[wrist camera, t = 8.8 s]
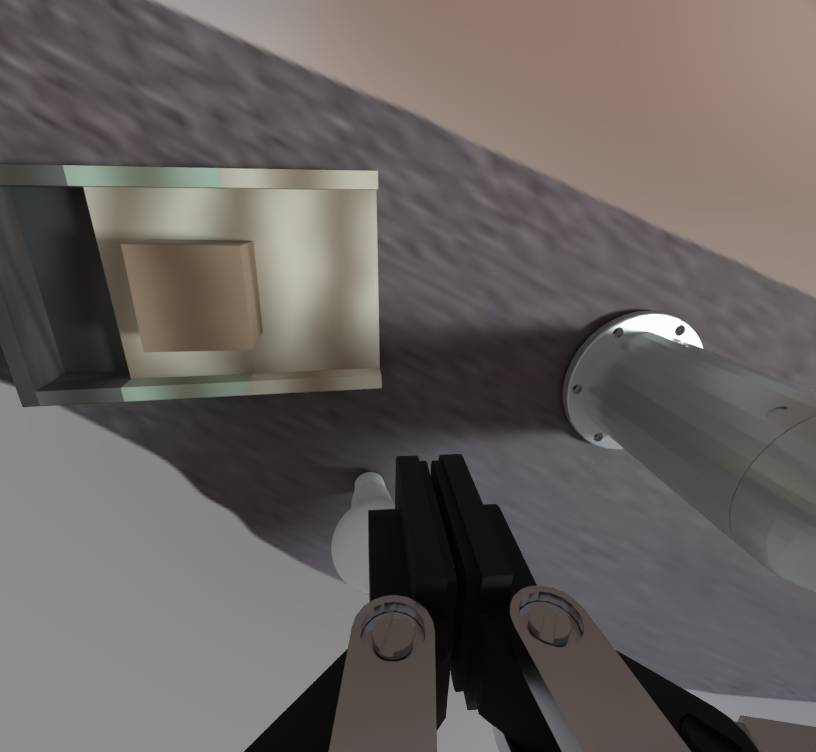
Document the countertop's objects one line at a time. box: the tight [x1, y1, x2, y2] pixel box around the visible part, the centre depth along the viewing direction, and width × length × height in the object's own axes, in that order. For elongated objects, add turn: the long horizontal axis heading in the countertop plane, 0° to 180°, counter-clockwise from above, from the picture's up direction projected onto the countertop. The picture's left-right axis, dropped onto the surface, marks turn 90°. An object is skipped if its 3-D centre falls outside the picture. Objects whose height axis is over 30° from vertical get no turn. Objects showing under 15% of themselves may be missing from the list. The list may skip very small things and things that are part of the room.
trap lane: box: [0, 164, 382, 407], centre depth 28 cm, size 23×14×4 cm, turn 90°
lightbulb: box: [331, 472, 395, 594], centre depth 32 cm, size 6×6×11 cm
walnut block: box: [121, 239, 263, 352], centre depth 26 cm, size 6×6×4 cm
